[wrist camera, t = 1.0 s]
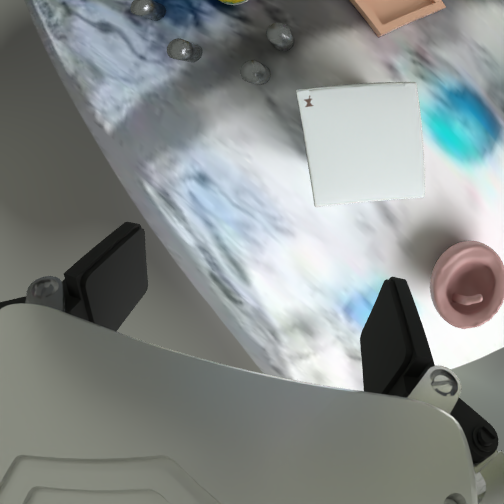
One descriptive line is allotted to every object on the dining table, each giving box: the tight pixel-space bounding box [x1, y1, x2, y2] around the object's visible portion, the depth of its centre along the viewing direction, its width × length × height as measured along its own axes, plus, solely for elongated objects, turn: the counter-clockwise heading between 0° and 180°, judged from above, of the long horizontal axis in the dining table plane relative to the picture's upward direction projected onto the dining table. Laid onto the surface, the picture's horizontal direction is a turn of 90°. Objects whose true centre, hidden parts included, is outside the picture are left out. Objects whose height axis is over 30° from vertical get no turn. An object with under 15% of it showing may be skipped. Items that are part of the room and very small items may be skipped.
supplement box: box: [296, 82, 425, 207], centre depth 27 cm, size 10×9×17 cm
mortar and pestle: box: [430, 241, 504, 329], centre depth 34 cm, size 12×12×11 cm
